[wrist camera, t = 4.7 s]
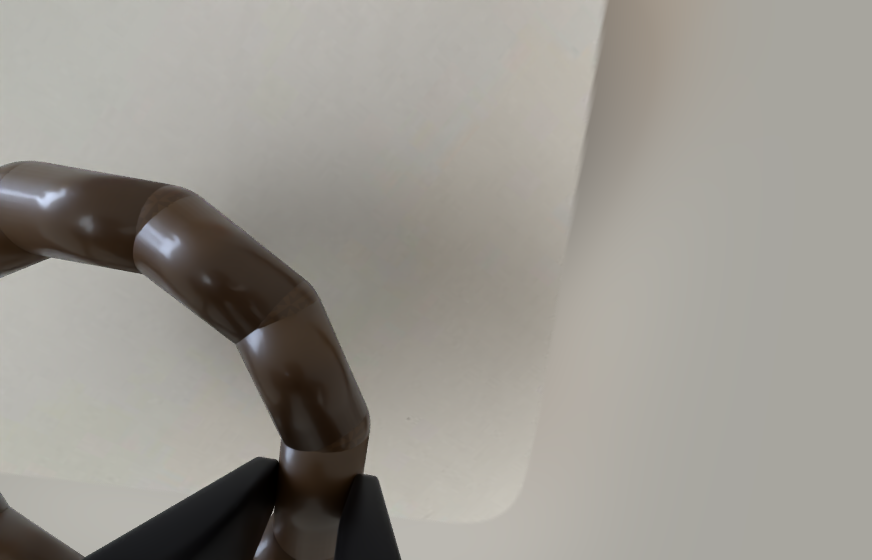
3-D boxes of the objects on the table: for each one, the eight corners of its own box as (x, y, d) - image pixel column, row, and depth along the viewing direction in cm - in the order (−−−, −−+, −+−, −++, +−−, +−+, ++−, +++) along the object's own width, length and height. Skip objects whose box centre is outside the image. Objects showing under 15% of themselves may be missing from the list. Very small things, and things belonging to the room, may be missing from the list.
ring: (341, 644, 10) (319, 727, 9) (-71, 563, 11) (-163, 629, 9) (406, 221, 8) (393, 231, 6) (-122, 127, 8) (-259, 115, 7)
